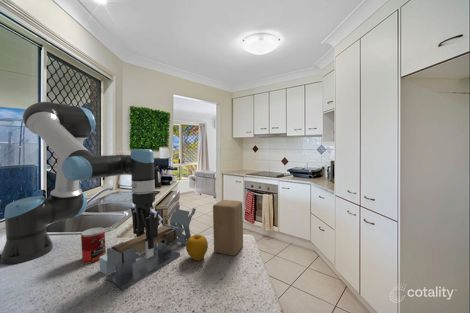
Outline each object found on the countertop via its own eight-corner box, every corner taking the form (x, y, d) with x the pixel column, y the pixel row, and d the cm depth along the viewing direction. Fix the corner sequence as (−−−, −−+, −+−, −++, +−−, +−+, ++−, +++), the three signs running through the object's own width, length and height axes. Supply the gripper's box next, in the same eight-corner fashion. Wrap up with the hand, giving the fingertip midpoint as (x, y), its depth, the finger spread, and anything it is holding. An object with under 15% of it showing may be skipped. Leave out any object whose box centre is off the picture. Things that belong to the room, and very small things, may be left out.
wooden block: (213, 252, 82) (211, 204, 81) (223, 242, 91) (222, 199, 91) (235, 257, 78) (234, 207, 78) (244, 245, 88) (243, 200, 87)
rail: (114, 257, 65) (114, 246, 65) (165, 234, 82) (164, 226, 82) (120, 260, 63) (119, 249, 63) (170, 236, 80) (170, 227, 80)
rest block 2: (141, 250, 85) (141, 239, 85) (149, 247, 88) (149, 235, 88) (148, 254, 82) (148, 242, 82) (157, 249, 86) (156, 238, 85)
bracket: (196, 239, 95) (195, 208, 94) (180, 248, 86) (179, 214, 86) (178, 233, 102) (177, 204, 101) (161, 241, 93) (160, 210, 93)
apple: (184, 255, 81) (183, 233, 80) (205, 250, 84) (204, 229, 84) (188, 266, 73) (187, 242, 73) (210, 260, 76) (210, 238, 76)
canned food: (94, 264, 75) (92, 235, 75) (76, 262, 77) (75, 234, 77) (110, 253, 83) (109, 227, 83) (94, 252, 85) (93, 226, 84)
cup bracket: (105, 279, 66) (104, 247, 66) (163, 249, 85) (162, 224, 85) (122, 290, 61) (120, 256, 60) (179, 256, 80) (179, 229, 80)
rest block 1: (99, 270, 71) (99, 256, 71) (111, 265, 75) (111, 251, 75) (106, 275, 69) (106, 260, 68) (118, 269, 72) (118, 255, 72)
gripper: (120, 191, 73) (123, 253, 74) (148, 196, 64) (151, 267, 65) (139, 187, 80) (141, 245, 81) (167, 192, 71) (169, 256, 72)
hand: (145, 255), depth 73 cm, fingers open, 4 cm apart
